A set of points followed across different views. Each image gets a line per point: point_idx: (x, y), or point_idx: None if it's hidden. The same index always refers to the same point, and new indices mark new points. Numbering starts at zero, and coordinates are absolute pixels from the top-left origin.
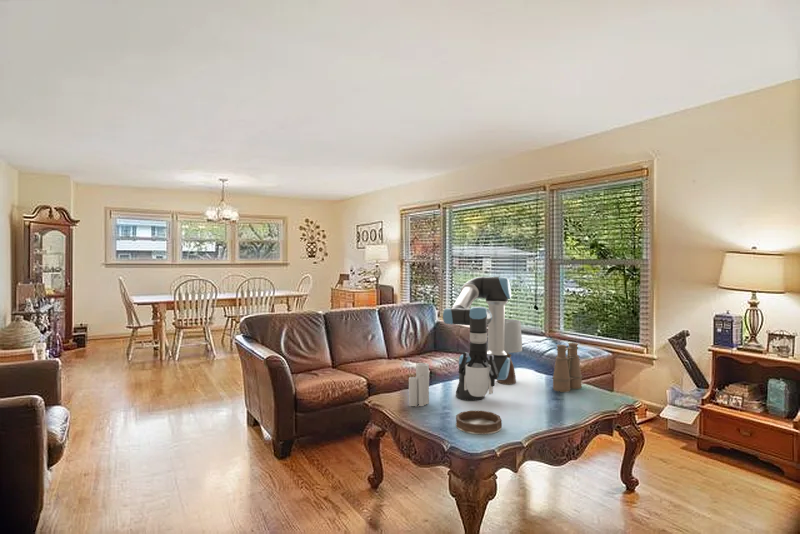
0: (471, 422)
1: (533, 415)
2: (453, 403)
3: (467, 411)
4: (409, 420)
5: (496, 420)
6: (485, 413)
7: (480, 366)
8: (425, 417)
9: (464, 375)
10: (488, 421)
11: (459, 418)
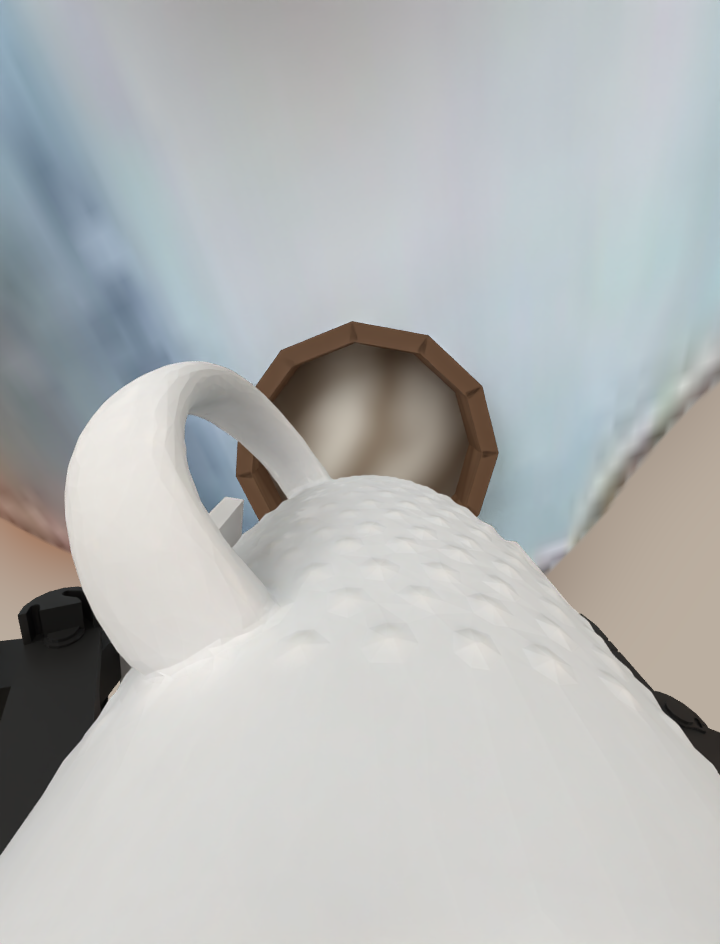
0: (322, 434)
1: (689, 85)
2: (40, 16)
3: (270, 379)
4: (28, 502)
5: (454, 390)
6: (382, 346)
7: (388, 747)
8: (65, 431)
9: (113, 672)
10: (404, 382)
11: (258, 461)
